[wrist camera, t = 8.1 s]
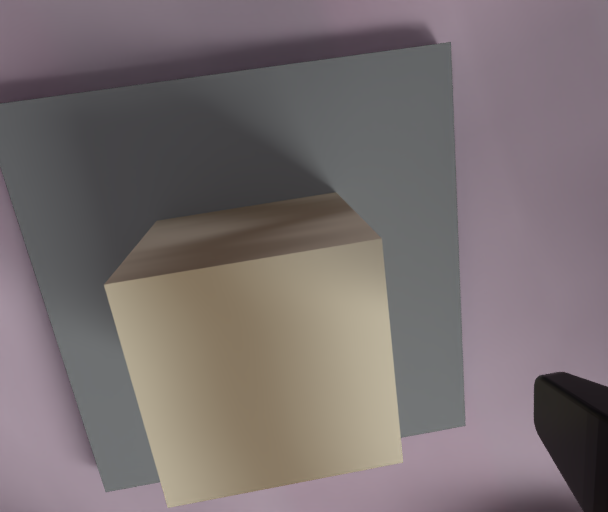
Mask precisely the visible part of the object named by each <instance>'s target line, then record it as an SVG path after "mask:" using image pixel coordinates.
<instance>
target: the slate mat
mask: <svg viewBox="0 0 608 512" xmlns="http://www.w3.org/2000/svg"><path fill="white" fill-rule="evenodd" d="M0 167H1V170H2V174H3V177H4V180H5V183H6V186H7V189H8V192H9V195H10V198H11V201H12V204H13V208H14V211H15V214H16V217H17V220H18V223H19V226H20V229H21V232H22V235H23V238H24V241H25V245H26V248H27V251H28V254H29V257H30V260H31V263H32V266H33V269H34V272H35V275H36V279H37V282H38V285H39V288H40V291H41V294H42V297H43V300H44V303H45V306H46V309H47V312H48V316H49V319H50V322H51V325H52V328H53V331H54V334H55V337H56V340H57V343H58V346H59V349H60V353H61V356H62V359H63V362H64V365H65V368H66V371H67V374H68V377H69V380H70V383H71V387H72V390H73V393H74V396H75V399H76V402H77V405H78V408H79V411H80V414H81V417H82V420H83V424H84V427H85V430H86V433H87V436H88V439H89V442H90V445H91V448H92V451H93V454H94V457H95V461H96V464H97V467H98V470H99V473H100V476H101V479H102V482H103V485H104V488H105V491H106V492H109V491H115V490H120V489H126V488H131V487H137V486H142V485H147V484H153V483H158V482H160V479H159V475H158V472H157V468H156V465H155V461H154V458H153V454H152V451H151V447H150V444H149V440H148V437H147V433H146V430H145V426H144V423H143V419H142V416H141V412H140V409H139V405H138V402H137V399H136V395H135V392H134V388H133V385H132V381H131V378H130V374H129V371H128V367H127V364H126V360H125V357H124V353H123V350H122V346H121V343H120V339H119V336H118V332H117V329H116V325H115V322H114V318H113V315H112V311H111V308H110V304H109V301H108V297H107V294H106V290H105V287H104V284H105V283H106V281H107V280H108V279H109V278H110V277H111V275H112V274H113V273H114V272H115V271H116V269H117V268H118V267H119V266H120V264H121V263H122V262H123V261H124V260H125V258H126V257H127V256H128V255H129V254H130V252H131V251H132V250H133V249H134V248H135V246H136V245H137V244H138V243H139V242H140V240H141V239H142V238H143V237H144V235H145V234H146V233H147V232H148V231H149V229H150V228H151V227H152V226H153V225H154V223H155V222H156V221H159V220H165V219H171V218H177V217H184V216H190V215H196V214H202V213H209V212H215V211H221V210H228V209H234V208H240V207H246V206H253V205H259V204H265V203H271V202H278V201H284V200H290V199H297V198H303V197H309V196H315V195H322V194H328V193H334V192H336V193H337V194H338V195H339V196H340V197H341V198H342V199H343V200H344V201H345V202H346V203H347V204H348V205H349V206H350V207H351V208H352V209H353V210H354V211H355V212H356V213H357V214H358V215H359V216H360V217H361V218H362V219H363V220H364V221H365V222H366V223H367V224H368V225H369V226H370V227H371V228H372V229H373V230H374V231H375V232H376V233H377V234H378V235H379V236H380V237H381V238H382V245H383V256H384V267H385V277H386V288H387V298H388V309H389V319H390V330H391V340H392V351H393V362H394V372H395V383H396V393H397V404H398V414H399V425H400V435H401V438H402V437H408V436H413V435H418V434H424V433H429V432H435V431H440V430H446V429H451V428H456V427H462V426H465V403H464V376H463V350H462V324H461V297H460V271H459V245H458V218H457V192H456V165H455V139H454V113H453V86H452V60H451V42H447V43H440V44H433V45H425V46H418V47H411V48H404V49H396V50H389V51H382V52H374V53H367V54H360V55H352V56H345V57H338V58H330V59H323V60H316V61H308V62H301V63H294V64H286V65H279V66H272V67H264V68H257V69H250V70H243V71H235V72H228V73H221V74H213V75H206V76H199V77H191V78H184V79H177V80H169V81H162V82H155V83H147V84H140V85H133V86H125V87H118V88H111V89H103V90H96V91H89V92H81V93H74V94H67V95H60V96H52V97H45V98H38V99H30V100H23V101H16V102H8V103H1V104H0Z"/></svg>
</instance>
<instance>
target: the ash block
mask: <svg viewBox="0 0 608 512" xmlns="http://www.w3.org/2000/svg"><path fill="white" fill-rule="evenodd" d="M104 287H105V290H106V294H107V297H108V301H109V304H110V308H111V311H112V315H113V318H114V322H115V325H116V329H117V332H118V336H119V339H120V343H121V346H122V350H123V353H124V357H125V360H126V364H127V367H128V371H129V374H130V378H131V381H132V385H133V388H134V392H135V395H136V399H137V402H138V405H139V409H140V412H141V416H142V419H143V423H144V426H145V430H146V433H147V437H148V440H149V444H150V447H151V451H152V454H153V458H154V461H155V465H156V468H157V472H158V475H159V479H160V482H161V486H162V489H163V493H164V496H165V500H166V503H167V507H168V508H170V507H175V506H180V505H185V504H191V503H196V502H201V501H206V500H211V499H217V498H222V497H227V496H232V495H237V494H243V493H248V492H253V491H258V490H263V489H268V488H274V487H279V486H284V485H289V484H294V483H300V482H305V481H310V480H315V479H320V478H325V477H331V476H336V475H341V474H346V473H351V472H357V471H362V470H367V469H372V468H377V467H383V466H388V465H393V464H398V463H403V457H402V446H401V435H400V425H399V414H398V404H397V393H396V383H395V372H394V362H393V351H392V340H391V330H390V319H389V309H388V298H387V288H386V277H385V267H384V256H383V245H382V238H381V237H380V236H379V235H378V234H377V233H376V232H375V231H374V230H373V229H372V228H371V227H370V226H369V225H368V224H367V223H366V222H365V221H364V220H363V219H362V218H361V217H360V216H359V215H358V214H357V213H356V212H355V211H354V210H353V209H352V208H351V207H350V206H349V205H348V204H347V203H346V202H345V201H344V200H343V199H342V198H341V197H340V196H339V195H338V194H337V193H336V192H334V193H328V194H322V195H315V196H309V197H303V198H297V199H290V200H284V201H278V202H271V203H265V204H259V205H253V206H246V207H240V208H234V209H228V210H221V211H215V212H209V213H202V214H196V215H190V216H184V217H177V218H171V219H165V220H159V221H156V222H155V223H154V225H153V226H152V227H151V228H150V229H149V231H148V232H147V233H146V234H145V235H144V237H143V238H142V239H141V240H140V242H139V243H138V244H137V245H136V246H135V248H134V249H133V250H132V251H131V252H130V254H129V255H128V256H127V257H126V258H125V260H124V261H123V262H122V263H121V264H120V266H119V267H118V268H117V269H116V271H115V272H114V273H113V274H112V275H111V277H110V278H109V279H108V280H107V281H106V283H105V284H104Z"/></svg>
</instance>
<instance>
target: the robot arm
mask: <svg viewBox="0 0 608 512" xmlns="http://www.w3.org/2000/svg"><path fill="white" fill-rule="evenodd" d="M534 424H535V428H536V431H537V433H538V435H539V437H540V439H541V441H542V442H543V444H544V446H545V447H546V449H547V451H548V452H549V454H550V456H551V457H552V459H553V461H554V463H555V464H556V466H557V468H558V469H559V471H560V473H561V474H562V476H563V478H564V479H565V481H566V483H567V485H568V486H569V488H570V490H571V491H572V493H573V495H574V496H575V498H576V500H577V502H578V503H579V505H580V507H581V508H582V510H583V512H608V387H607V386H604V385H601V384H598V383H595V382H592V381H589V380H586V379H583V378H580V377H577V376H574V375H572V374H569V373H566V372H556V373H550V374H545V375H540V376H538V377H537V378H536V380H535V384H534Z"/></svg>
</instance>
